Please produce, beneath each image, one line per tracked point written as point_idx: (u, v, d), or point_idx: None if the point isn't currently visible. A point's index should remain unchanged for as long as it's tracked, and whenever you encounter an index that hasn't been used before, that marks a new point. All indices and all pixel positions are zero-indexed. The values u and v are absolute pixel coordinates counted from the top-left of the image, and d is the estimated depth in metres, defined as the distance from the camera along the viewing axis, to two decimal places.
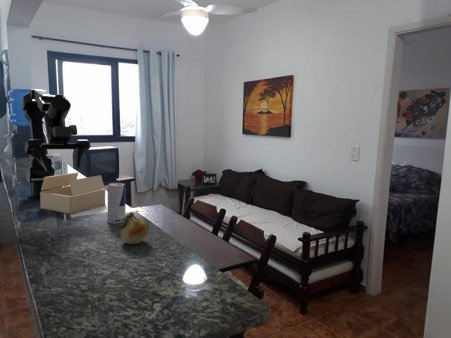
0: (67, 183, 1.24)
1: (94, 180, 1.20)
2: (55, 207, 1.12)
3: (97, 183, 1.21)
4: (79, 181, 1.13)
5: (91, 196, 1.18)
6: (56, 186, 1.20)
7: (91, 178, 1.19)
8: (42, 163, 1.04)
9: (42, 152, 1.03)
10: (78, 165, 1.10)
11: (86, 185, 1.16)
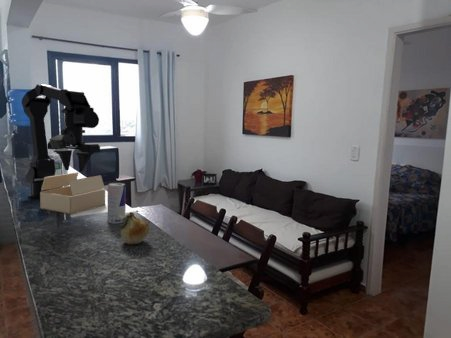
0: (67, 183, 1.24)
1: (94, 180, 1.20)
2: (55, 207, 1.12)
3: (97, 183, 1.21)
4: (79, 181, 1.13)
5: (91, 196, 1.18)
6: (56, 186, 1.20)
7: (91, 178, 1.19)
8: None
9: (60, 154, 1.17)
10: (79, 168, 1.16)
11: (86, 185, 1.16)
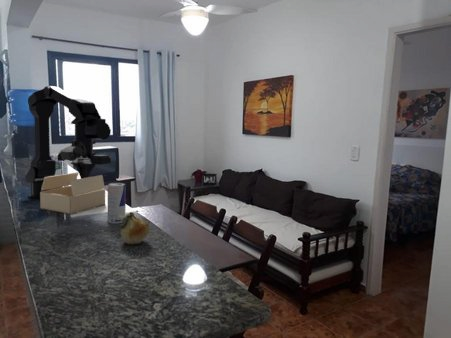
0: (67, 183, 1.24)
1: (95, 180, 1.20)
2: (55, 207, 1.12)
3: (98, 183, 1.21)
4: (80, 181, 1.13)
5: (91, 196, 1.18)
6: (56, 186, 1.20)
7: (92, 178, 1.18)
8: None
9: (77, 166, 1.15)
10: None
11: (87, 185, 1.16)
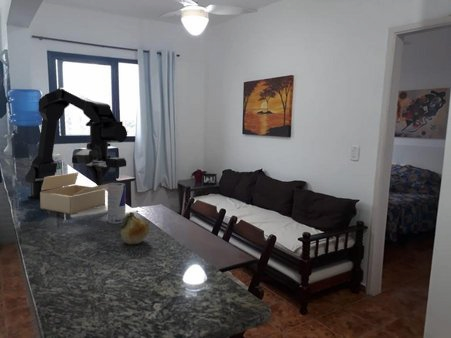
0: (67, 183, 1.24)
1: (103, 186, 1.19)
2: (55, 207, 1.12)
3: (103, 187, 1.20)
4: (90, 188, 1.12)
5: (91, 196, 1.18)
6: (56, 186, 1.20)
7: (103, 185, 1.17)
8: None
9: (92, 169, 1.13)
10: (98, 182, 1.14)
11: (92, 189, 1.15)
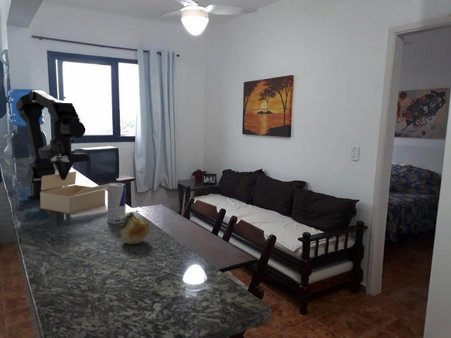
0: (67, 183, 1.24)
1: (103, 186, 1.19)
2: (55, 207, 1.12)
3: (103, 187, 1.20)
4: (91, 188, 1.12)
5: (91, 196, 1.18)
6: (56, 186, 1.20)
7: (103, 186, 1.17)
8: None
9: (56, 164, 1.18)
10: (62, 177, 1.19)
11: (92, 189, 1.15)
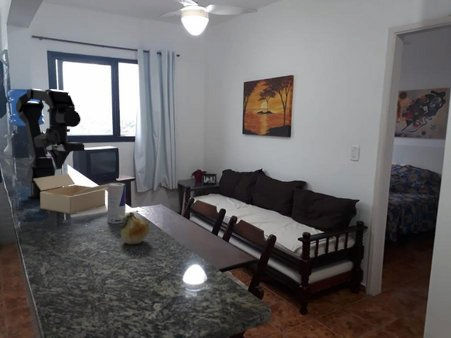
0: (65, 183, 1.25)
1: (103, 186, 1.19)
2: (55, 207, 1.12)
3: (103, 187, 1.20)
4: (91, 188, 1.12)
5: (91, 196, 1.18)
6: (55, 186, 1.20)
7: (103, 186, 1.17)
8: None
9: (52, 153, 1.18)
10: (57, 166, 1.19)
11: (92, 189, 1.15)
